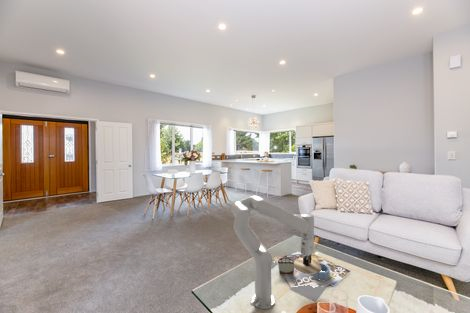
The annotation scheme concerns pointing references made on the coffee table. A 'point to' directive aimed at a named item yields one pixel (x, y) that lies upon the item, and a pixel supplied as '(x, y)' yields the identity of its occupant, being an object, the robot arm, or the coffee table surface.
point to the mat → (309, 291)
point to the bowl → (322, 275)
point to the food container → (286, 265)
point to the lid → (310, 269)
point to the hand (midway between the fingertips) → (307, 263)
